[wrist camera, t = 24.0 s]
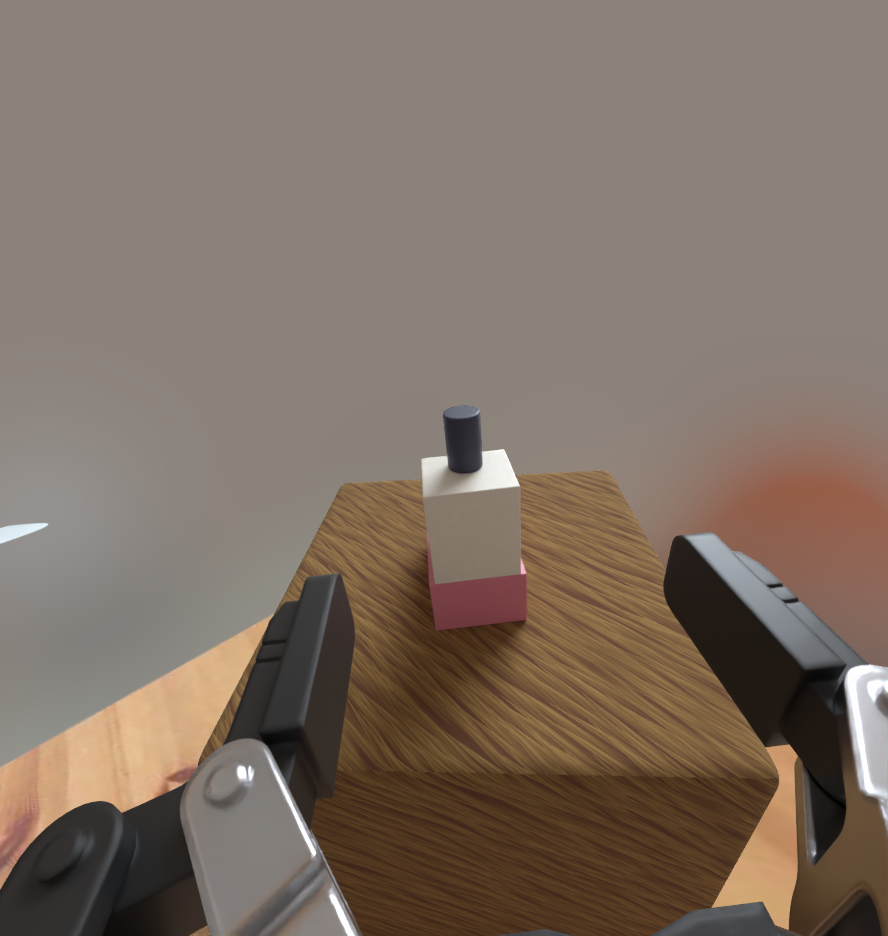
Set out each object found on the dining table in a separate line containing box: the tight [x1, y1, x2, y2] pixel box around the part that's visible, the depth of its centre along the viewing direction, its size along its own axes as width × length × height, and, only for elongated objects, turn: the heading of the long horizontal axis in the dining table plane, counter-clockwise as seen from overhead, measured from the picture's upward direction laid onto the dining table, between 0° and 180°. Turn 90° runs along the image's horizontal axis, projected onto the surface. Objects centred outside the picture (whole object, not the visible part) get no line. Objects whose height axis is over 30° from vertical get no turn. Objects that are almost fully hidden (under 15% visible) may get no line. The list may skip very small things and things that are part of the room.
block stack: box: [421, 405, 527, 631], centre depth 25 cm, size 10×5×12 cm, turn 4°
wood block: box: [198, 471, 779, 936], centre depth 34 cm, size 25×25×25 cm
